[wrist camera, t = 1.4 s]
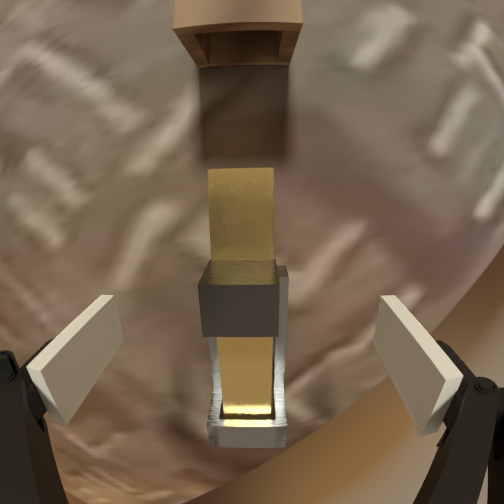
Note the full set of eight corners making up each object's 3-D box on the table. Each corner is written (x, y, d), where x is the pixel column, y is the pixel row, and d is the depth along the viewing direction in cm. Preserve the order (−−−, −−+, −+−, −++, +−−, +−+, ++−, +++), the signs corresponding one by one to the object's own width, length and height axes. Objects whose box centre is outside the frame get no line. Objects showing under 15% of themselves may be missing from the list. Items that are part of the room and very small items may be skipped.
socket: (198, 67, 21) (172, 28, 13) (199, 18, 20) (177, -32, 12) (289, 65, 21) (302, 23, 13) (286, 15, 19) (297, -37, 12)
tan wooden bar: (229, 401, 28) (221, 471, 19) (217, 168, 22) (191, 170, 13) (269, 401, 28) (272, 472, 19) (271, 167, 22) (280, 168, 13)
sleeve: (219, 393, 29) (210, 446, 22) (208, 266, 25) (190, 305, 18) (280, 393, 29) (285, 447, 22) (285, 265, 25) (295, 305, 18)
